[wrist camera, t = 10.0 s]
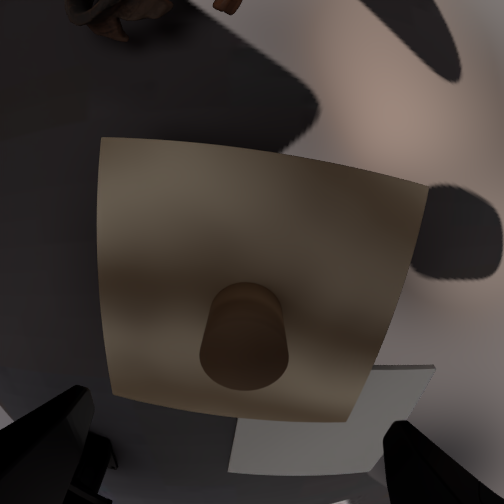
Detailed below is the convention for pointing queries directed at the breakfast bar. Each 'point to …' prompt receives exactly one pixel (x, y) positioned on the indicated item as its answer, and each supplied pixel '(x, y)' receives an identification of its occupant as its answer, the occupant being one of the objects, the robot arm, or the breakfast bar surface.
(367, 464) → the mat
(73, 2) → the brown piece
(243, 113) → the breakfast bar surface
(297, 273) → the lid
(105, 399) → the breakfast bar surface
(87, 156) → the breakfast bar surface
